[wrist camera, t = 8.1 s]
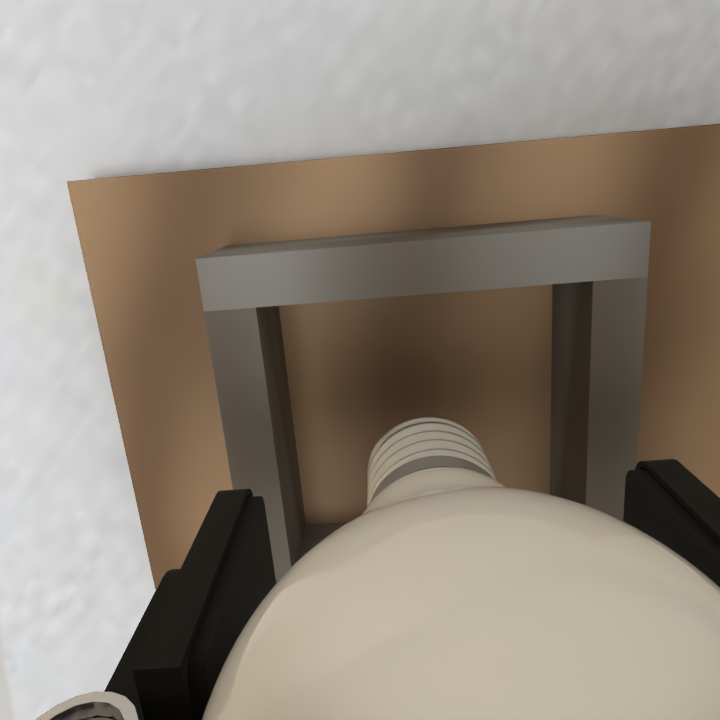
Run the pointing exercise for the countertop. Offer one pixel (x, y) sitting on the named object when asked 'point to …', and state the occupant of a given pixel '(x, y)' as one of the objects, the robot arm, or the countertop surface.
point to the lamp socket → (408, 321)
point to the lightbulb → (475, 607)
